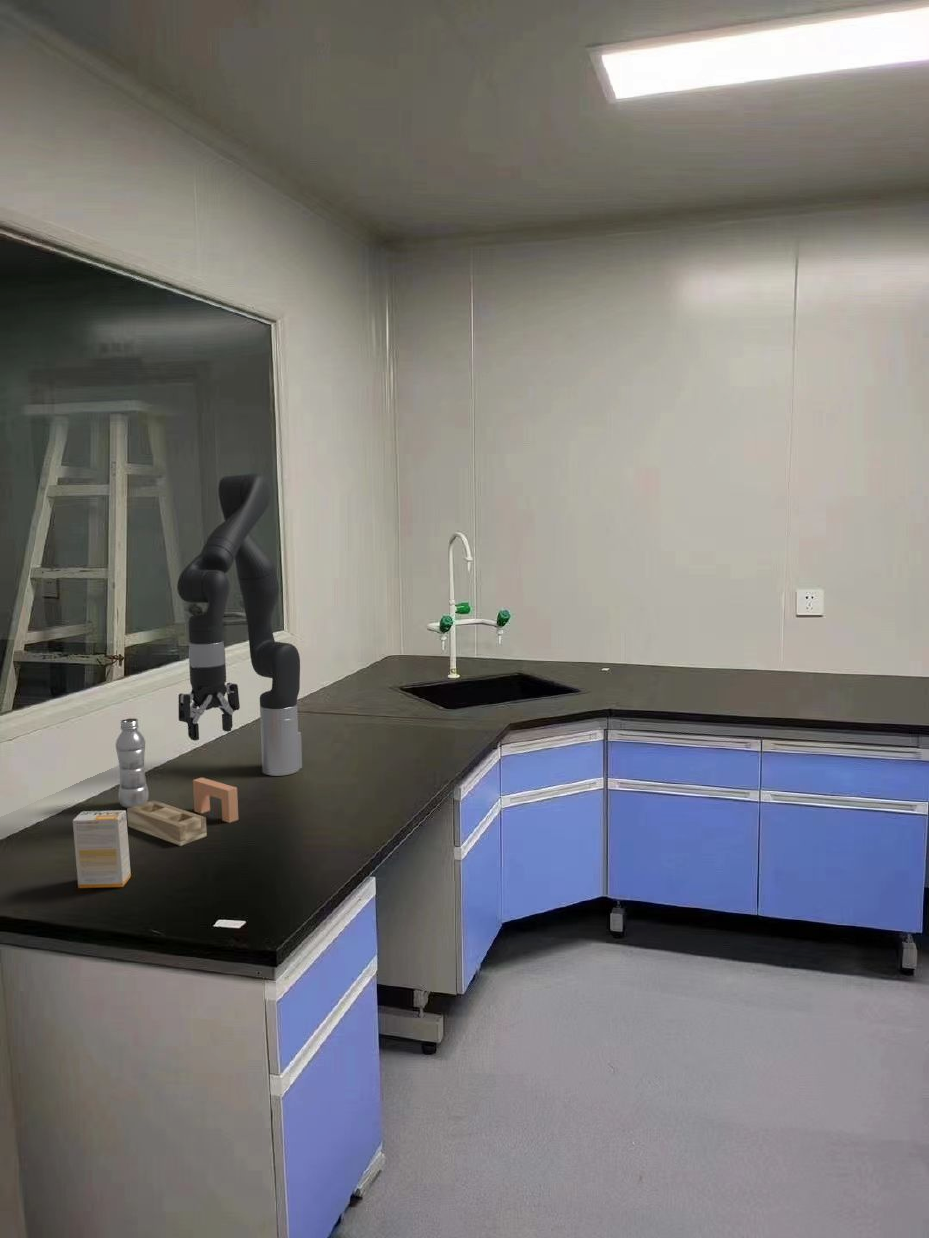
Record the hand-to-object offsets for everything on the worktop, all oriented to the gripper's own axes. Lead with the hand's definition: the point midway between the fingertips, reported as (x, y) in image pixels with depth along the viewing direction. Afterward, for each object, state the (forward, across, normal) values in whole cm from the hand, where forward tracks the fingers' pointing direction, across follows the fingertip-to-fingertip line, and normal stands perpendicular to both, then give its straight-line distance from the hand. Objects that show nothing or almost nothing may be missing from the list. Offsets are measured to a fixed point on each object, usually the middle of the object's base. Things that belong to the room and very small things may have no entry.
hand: (211, 735), depth 195 cm
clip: (+18, 0, 0) cm, 18 cm away
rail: (+18, +12, 0) cm, 22 cm away
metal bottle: (+18, +7, -20) cm, 28 cm away
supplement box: (+18, +34, +12) cm, 40 cm away
